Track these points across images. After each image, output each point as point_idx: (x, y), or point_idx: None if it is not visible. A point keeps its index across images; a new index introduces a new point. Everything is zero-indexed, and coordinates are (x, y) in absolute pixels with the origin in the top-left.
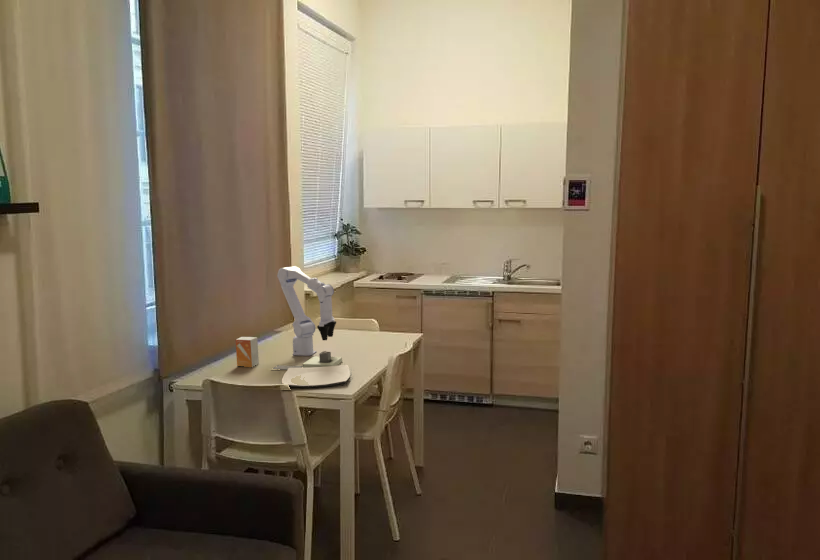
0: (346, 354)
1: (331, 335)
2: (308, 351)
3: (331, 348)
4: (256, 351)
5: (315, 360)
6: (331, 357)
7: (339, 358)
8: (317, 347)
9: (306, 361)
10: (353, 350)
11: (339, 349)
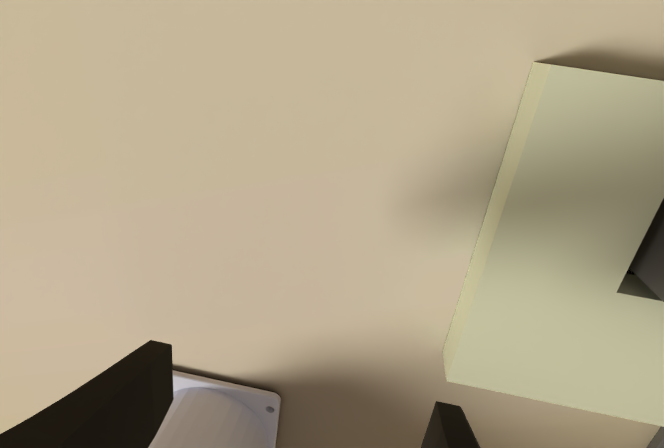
0: (200, 75)
1: (159, 370)
2: (247, 432)
3: (9, 266)
4: None
5: (640, 353)
6: (538, 205)
7: (627, 88)
8: (13, 370)
9: (657, 423)
10: (17, 25)
11: (21, 190)
